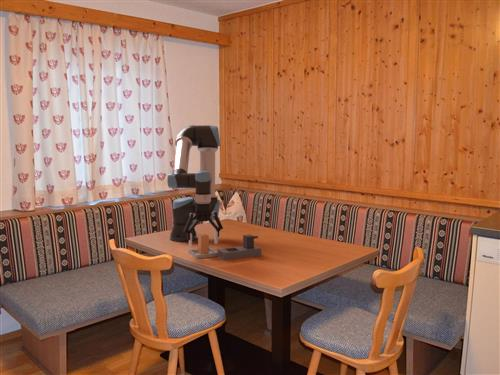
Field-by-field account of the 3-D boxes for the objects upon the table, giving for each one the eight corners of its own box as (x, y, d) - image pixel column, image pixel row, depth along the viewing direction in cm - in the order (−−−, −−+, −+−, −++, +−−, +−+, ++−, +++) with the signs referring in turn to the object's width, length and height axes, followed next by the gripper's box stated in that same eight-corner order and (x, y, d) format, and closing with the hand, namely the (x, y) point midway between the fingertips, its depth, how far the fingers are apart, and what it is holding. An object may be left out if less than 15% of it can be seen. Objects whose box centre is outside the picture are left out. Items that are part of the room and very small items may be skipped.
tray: (188, 253, 232) (188, 249, 232) (209, 251, 237) (209, 247, 237) (196, 259, 222) (196, 255, 222) (218, 256, 227) (218, 252, 227)
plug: (198, 253, 230) (198, 234, 229) (205, 252, 232) (205, 233, 231) (201, 255, 227) (201, 235, 225) (208, 254, 229) (208, 235, 227)
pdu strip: (217, 257, 227) (217, 237, 225) (253, 252, 236) (253, 233, 234) (224, 261, 220) (224, 240, 218) (261, 256, 229) (261, 236, 227)
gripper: (181, 205, 217) (181, 249, 220) (229, 202, 229) (229, 243, 231) (176, 203, 224) (176, 245, 226) (223, 199, 235) (223, 240, 238)
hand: (203, 245), depth 229 cm, fingers open, 13 cm apart
